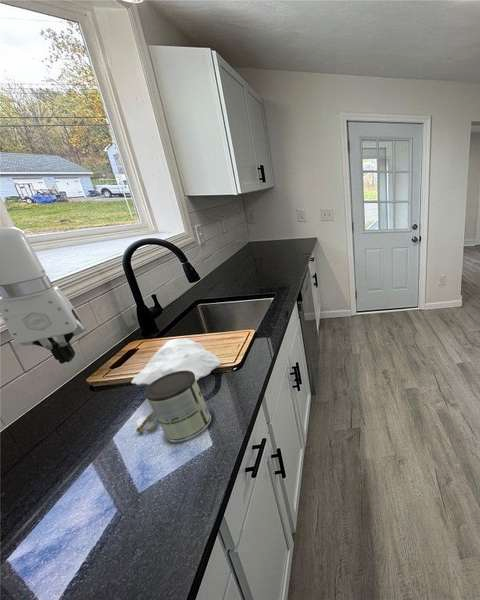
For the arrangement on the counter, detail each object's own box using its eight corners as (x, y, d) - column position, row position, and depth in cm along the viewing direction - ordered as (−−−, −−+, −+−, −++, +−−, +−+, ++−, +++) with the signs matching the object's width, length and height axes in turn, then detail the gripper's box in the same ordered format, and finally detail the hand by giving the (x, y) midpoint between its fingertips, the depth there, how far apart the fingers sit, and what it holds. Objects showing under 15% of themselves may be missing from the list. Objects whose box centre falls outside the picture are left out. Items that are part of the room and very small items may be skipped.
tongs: (174, 398, 92) (171, 393, 91) (155, 433, 81) (152, 427, 80) (158, 402, 91) (155, 396, 91) (136, 437, 80) (133, 431, 79)
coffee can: (159, 431, 81) (137, 387, 75) (201, 407, 88) (184, 365, 82) (175, 449, 75) (153, 403, 69) (218, 422, 82) (201, 378, 77)
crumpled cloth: (132, 419, 83) (124, 390, 80) (133, 363, 109) (128, 339, 106) (230, 391, 97) (226, 365, 94) (211, 347, 123) (207, 325, 120)
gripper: (-37, 301, 60) (15, 379, 67) (65, 284, 67) (103, 357, 74) (-14, 290, 66) (32, 363, 73) (78, 275, 73) (112, 343, 80)
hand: (67, 359), depth 74 cm, fingers closed
